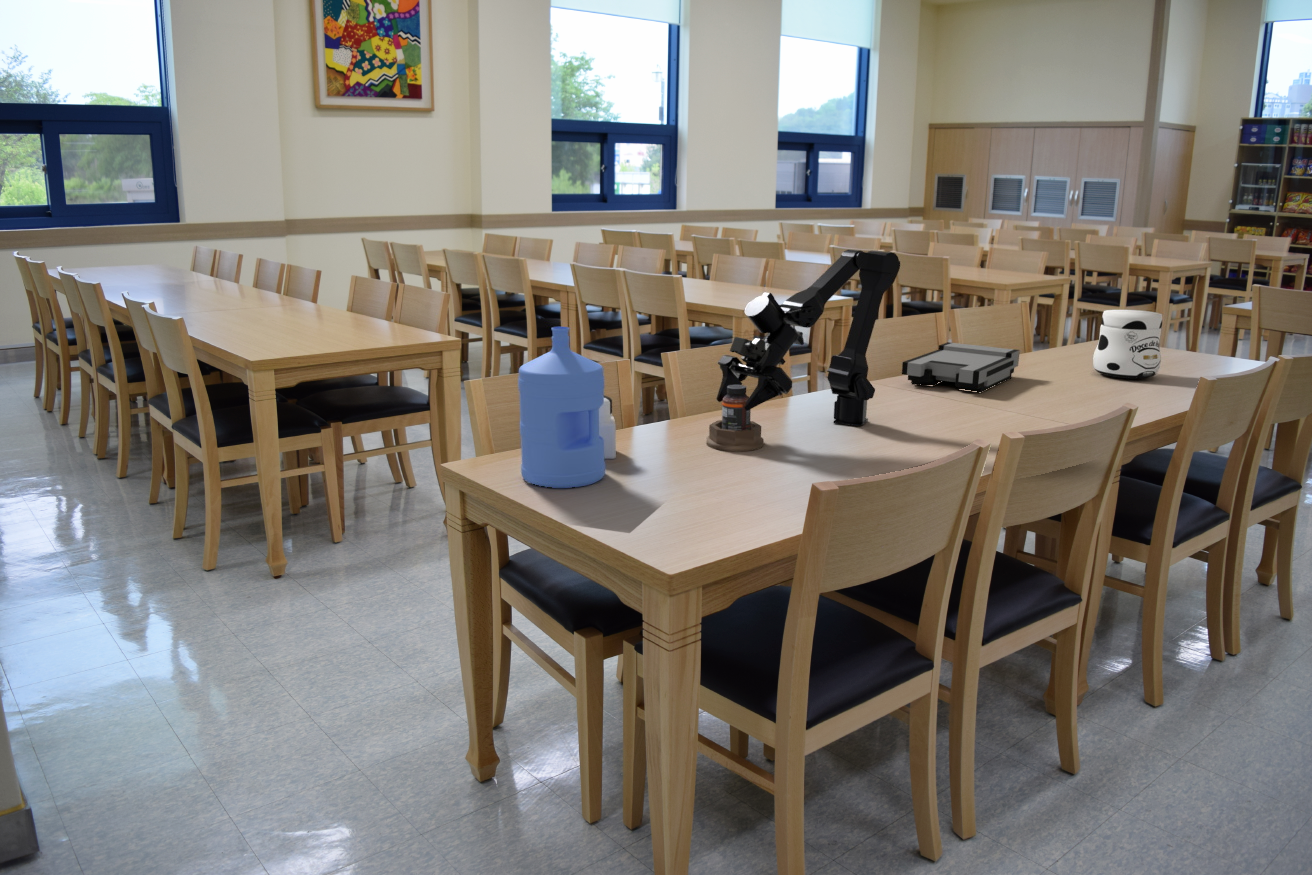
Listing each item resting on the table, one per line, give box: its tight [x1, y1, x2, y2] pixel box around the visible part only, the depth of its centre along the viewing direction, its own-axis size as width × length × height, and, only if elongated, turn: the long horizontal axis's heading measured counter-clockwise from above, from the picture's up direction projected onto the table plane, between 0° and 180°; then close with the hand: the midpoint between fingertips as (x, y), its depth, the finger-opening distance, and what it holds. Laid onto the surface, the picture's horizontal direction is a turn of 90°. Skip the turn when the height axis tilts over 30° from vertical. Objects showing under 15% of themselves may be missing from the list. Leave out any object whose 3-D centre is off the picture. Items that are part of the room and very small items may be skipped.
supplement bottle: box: [721, 384, 752, 431], centre depth 203 cm, size 6×6×11 cm
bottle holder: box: [706, 419, 765, 453], centre depth 204 cm, size 12×12×4 cm
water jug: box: [517, 326, 606, 489], centre depth 178 cm, size 16×16×28 cm
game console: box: [901, 341, 1021, 393], centre depth 266 cm, size 21×32×8 cm, turn 143°
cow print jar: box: [1092, 309, 1163, 380], centre depth 274 cm, size 17×17×18 cm
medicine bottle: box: [599, 395, 617, 460], centre depth 194 cm, size 7×7×12 cm
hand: (731, 405), depth 201 cm, fingers open, 9 cm apart
